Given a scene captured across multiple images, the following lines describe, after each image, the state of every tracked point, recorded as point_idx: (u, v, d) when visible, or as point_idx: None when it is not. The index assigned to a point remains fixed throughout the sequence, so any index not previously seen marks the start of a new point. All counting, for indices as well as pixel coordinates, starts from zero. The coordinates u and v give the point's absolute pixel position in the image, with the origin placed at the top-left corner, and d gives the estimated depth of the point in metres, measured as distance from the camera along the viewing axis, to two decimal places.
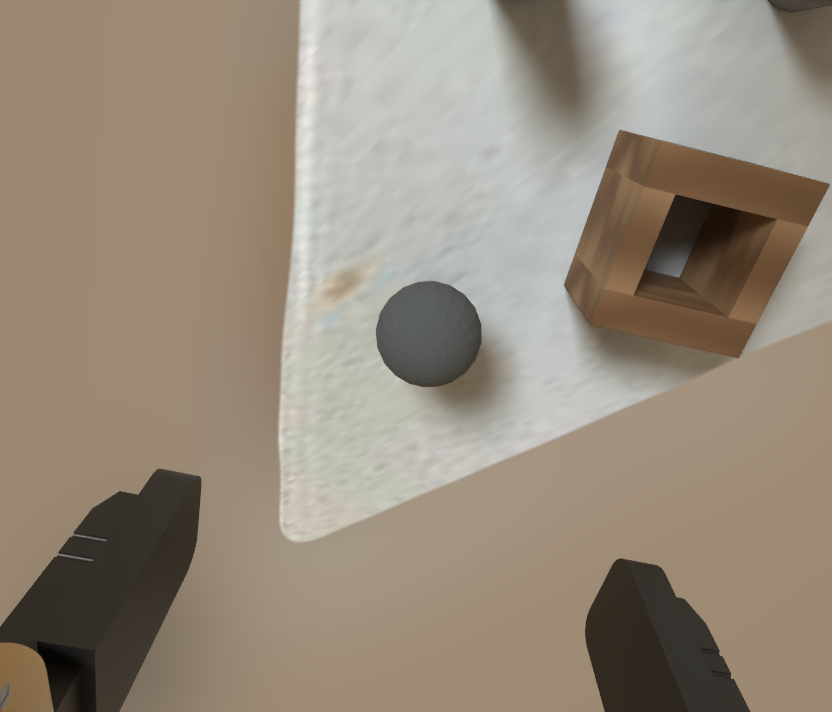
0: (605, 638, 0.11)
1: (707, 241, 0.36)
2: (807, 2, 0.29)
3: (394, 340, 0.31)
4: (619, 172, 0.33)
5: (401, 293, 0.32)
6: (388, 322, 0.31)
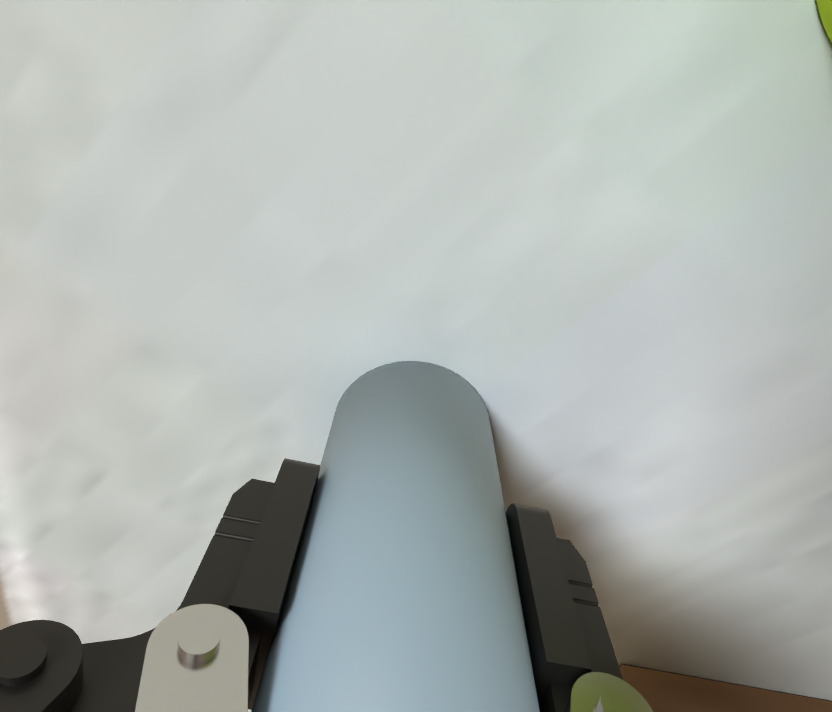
0: None
1: None
2: None
3: None
4: None
5: None
6: None
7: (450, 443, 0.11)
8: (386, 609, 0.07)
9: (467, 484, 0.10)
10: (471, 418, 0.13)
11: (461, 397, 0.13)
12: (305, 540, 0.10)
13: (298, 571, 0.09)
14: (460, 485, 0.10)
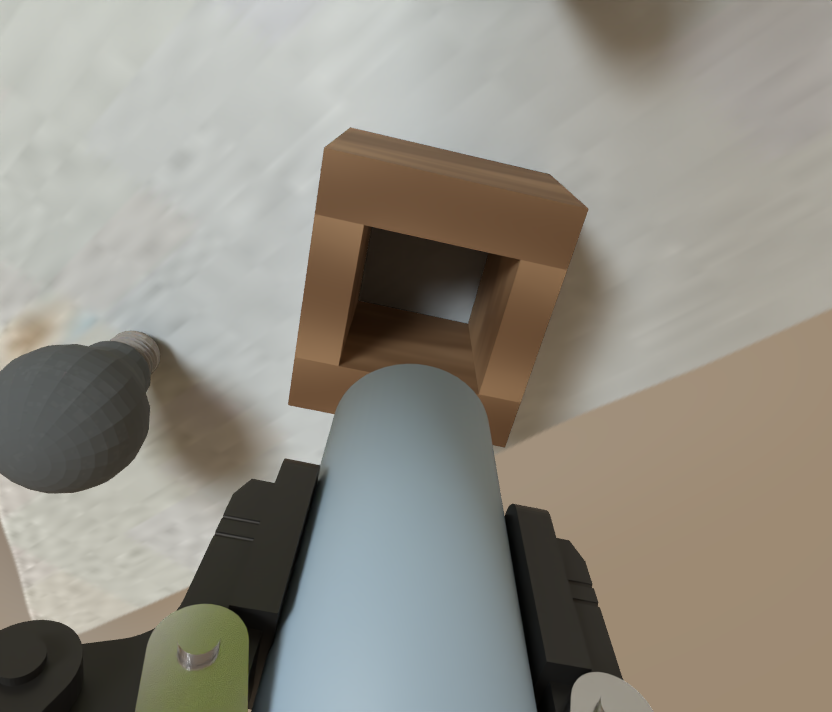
0: None
1: (486, 279, 0.27)
2: None
3: None
4: None
5: None
6: None
7: (448, 446, 0.11)
8: (385, 613, 0.07)
9: (466, 488, 0.10)
10: (470, 421, 0.13)
11: (459, 400, 0.13)
12: (304, 543, 0.10)
13: (297, 574, 0.09)
14: (458, 488, 0.10)
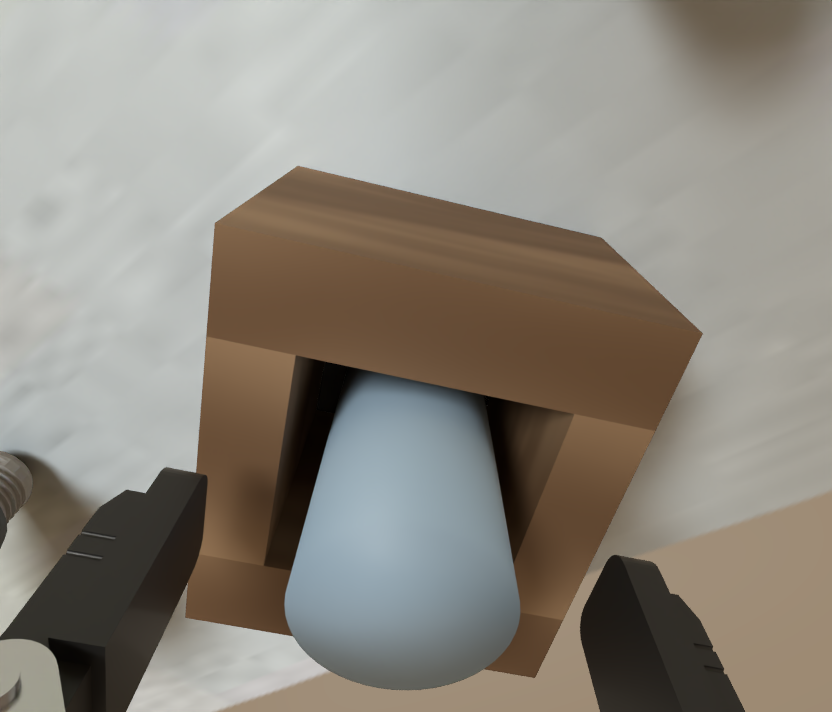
0: (600, 634, 0.11)
1: None
2: None
3: None
4: None
5: None
6: None
7: None
8: (401, 423, 0.12)
9: None
10: None
11: None
12: (341, 405, 0.14)
13: (338, 420, 0.13)
14: None
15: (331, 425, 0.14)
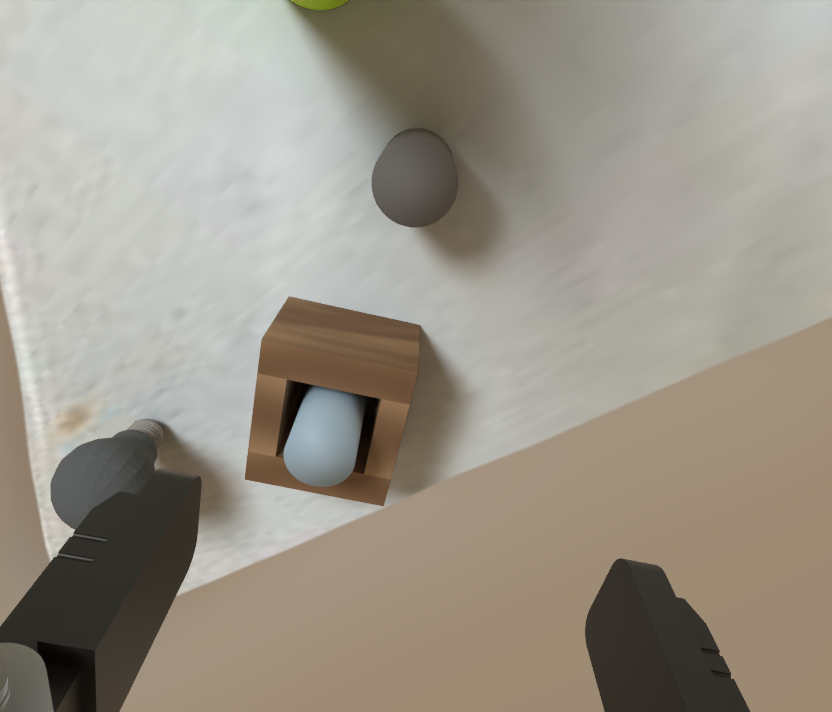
0: (605, 638, 0.11)
1: None
2: None
3: (54, 500, 0.35)
4: None
5: (68, 455, 0.36)
6: (52, 483, 0.35)
7: None
8: (323, 401, 0.34)
9: None
10: None
11: None
12: (304, 396, 0.36)
13: (303, 401, 0.36)
14: None
15: (301, 403, 0.36)
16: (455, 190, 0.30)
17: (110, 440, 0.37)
